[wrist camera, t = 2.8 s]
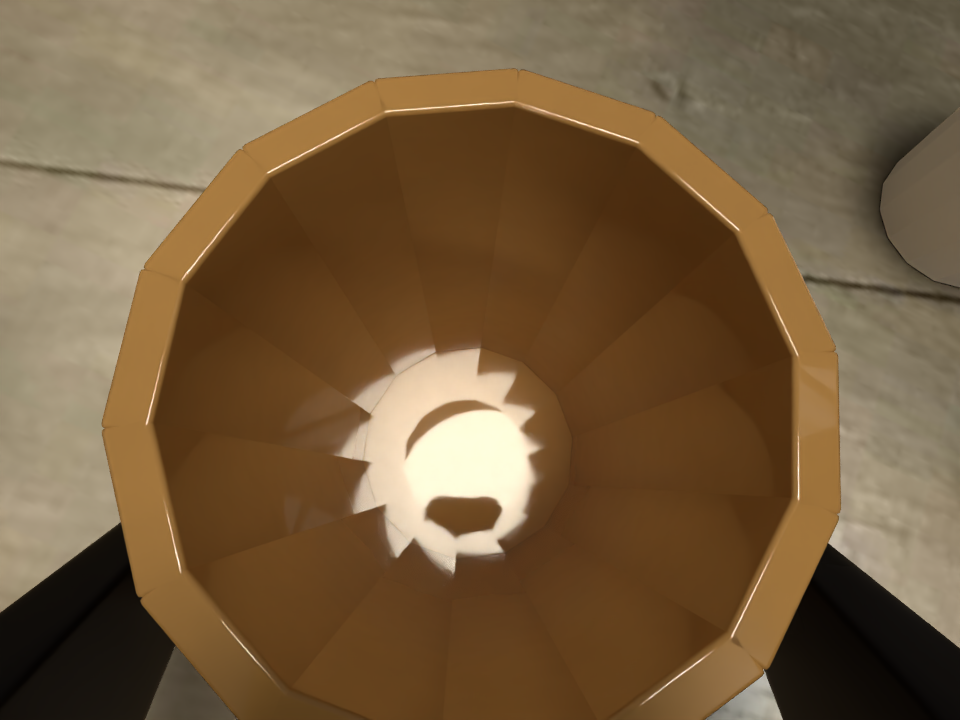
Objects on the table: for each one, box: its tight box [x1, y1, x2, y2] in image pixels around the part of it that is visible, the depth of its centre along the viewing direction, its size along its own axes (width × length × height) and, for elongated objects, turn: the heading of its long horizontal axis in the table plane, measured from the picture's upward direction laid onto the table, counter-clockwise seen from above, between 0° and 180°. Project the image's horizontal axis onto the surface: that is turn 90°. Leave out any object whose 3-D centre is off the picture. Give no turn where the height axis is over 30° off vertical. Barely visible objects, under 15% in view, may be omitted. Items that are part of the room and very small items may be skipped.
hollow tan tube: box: [102, 68, 841, 720], centre depth 12 cm, size 7×8×13 cm
